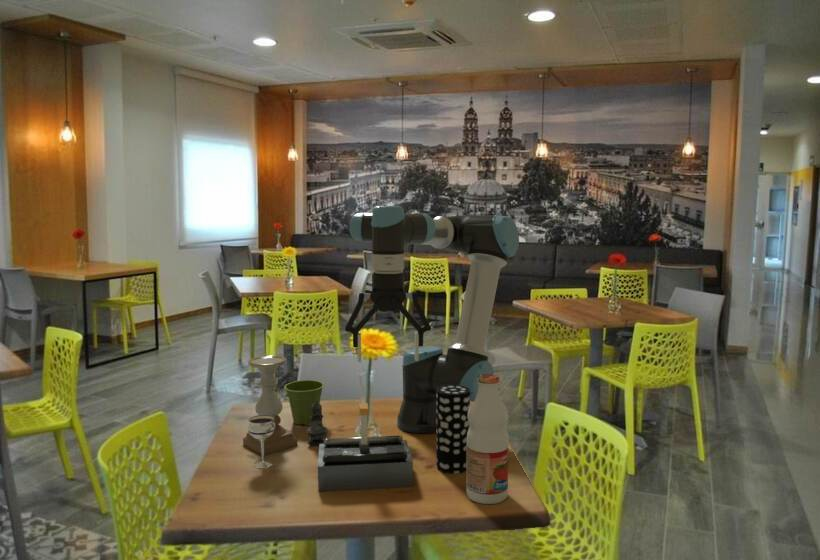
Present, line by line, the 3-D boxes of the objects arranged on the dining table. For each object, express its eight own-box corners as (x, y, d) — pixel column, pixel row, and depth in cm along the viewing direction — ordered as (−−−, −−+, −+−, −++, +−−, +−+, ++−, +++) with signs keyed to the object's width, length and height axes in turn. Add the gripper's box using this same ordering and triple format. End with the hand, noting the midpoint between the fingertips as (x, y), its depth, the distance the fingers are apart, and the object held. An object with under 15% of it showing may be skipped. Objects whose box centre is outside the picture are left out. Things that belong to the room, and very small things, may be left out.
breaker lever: (368, 448, 163) (368, 403, 162) (369, 454, 160) (369, 408, 158) (359, 448, 163) (358, 403, 162) (359, 454, 159) (358, 408, 158)
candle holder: (276, 434, 190) (274, 352, 187) (298, 444, 182) (295, 359, 179) (242, 444, 183) (238, 359, 180) (263, 455, 175) (260, 367, 172)
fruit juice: (469, 484, 157) (470, 369, 153) (509, 488, 155) (511, 371, 151) (463, 503, 148) (464, 380, 144) (505, 507, 146) (507, 383, 142)
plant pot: (300, 412, 209) (299, 377, 207) (332, 418, 204) (331, 382, 202) (277, 424, 198) (275, 387, 197) (309, 430, 193) (308, 393, 192)
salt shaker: (302, 444, 183) (301, 401, 182) (314, 437, 188) (313, 395, 187) (319, 447, 180) (318, 404, 179) (332, 440, 186) (331, 398, 184)
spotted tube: (465, 459, 172) (465, 384, 170) (473, 472, 164) (473, 393, 161) (433, 461, 171) (433, 385, 168) (439, 474, 163) (440, 395, 160)
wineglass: (281, 464, 169) (280, 419, 168) (258, 472, 165) (257, 425, 163) (267, 457, 174) (265, 412, 173) (244, 464, 169) (242, 419, 168)
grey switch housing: (406, 462, 170) (406, 433, 169) (412, 486, 156) (412, 454, 155) (319, 466, 168) (319, 436, 167) (318, 491, 154) (317, 459, 153)
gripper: (333, 273, 152) (334, 364, 155) (442, 273, 154) (441, 363, 156) (335, 270, 159) (336, 357, 162) (439, 269, 161) (438, 355, 164)
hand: (388, 360), depth 159 cm, fingers open, 13 cm apart
